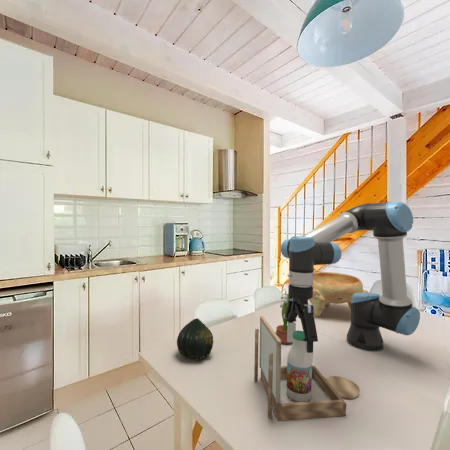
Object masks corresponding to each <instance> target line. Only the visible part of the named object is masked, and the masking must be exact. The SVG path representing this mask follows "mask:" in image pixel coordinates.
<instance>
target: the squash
mask: <svg viewBox="0 0 450 450" xmlns="http://www.w3.org/2000/svg"><path fill="white" fill-rule="evenodd" d="M213 345H214V335H213V333H212V331H211V330H210V329H209V327H207V326H206V324H205V323H203V322H202V320H200V318H198V317H196V318H194V319H192V320H190V321H189V322H188V323H187V324H185V325H184V326H183V327H182V328H181V330H180V331H179V332H178V336H177V338H176V346H177V350H178V352H179V353H180V355H182V356H183V357H184V358H194V359H196V360H197V361H200V360H202V359H203V358H206V357H208V356H209V355H210V354H211V351H212V350H213Z"/></svg>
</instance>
